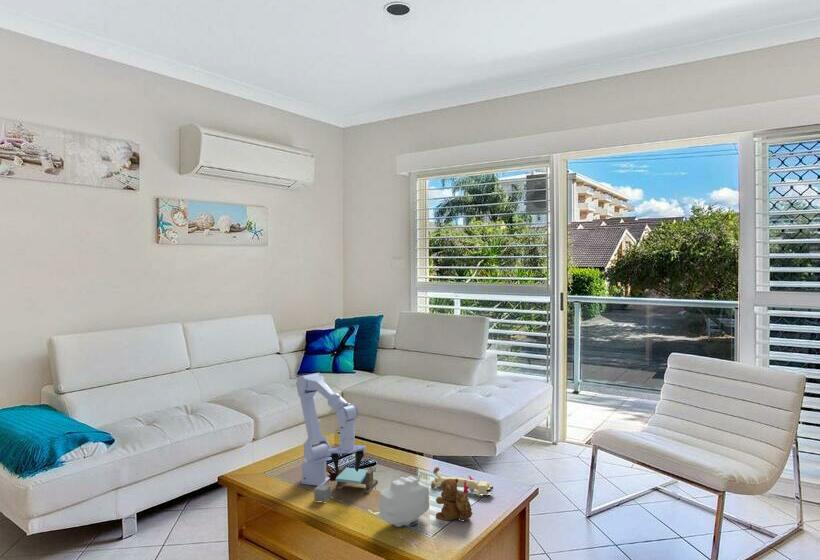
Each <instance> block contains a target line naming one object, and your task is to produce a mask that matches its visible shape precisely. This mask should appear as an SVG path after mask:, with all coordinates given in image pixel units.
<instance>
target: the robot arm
mask: <svg viewBox="0 0 820 560" xmlns="http://www.w3.org/2000/svg"><path fill="white" fill-rule="evenodd" d="M295 387H296V390H297V395H298V397H299V399H300V405H301V409H302V414H303V418H304V419H303V420H304V424H305V428H306V429H305V430H306V432H307V433H306V434H307V439H306V440H305V442H304V443H303V456H304V460H303V461H302V465H301V482H300V483H301V484H303V485H309V486H310V485H311V486H316V487H317V486H318V485H319V484H322V485H326V484H327V482H328V481H329V480H330V479H331V477H329V476H327V460H328V459H329V458H328V457H330V456H331V459H332V461H333V465H334V469H335V473H336V475H337V474H338V468H339V461H340V460H339V455H341V454H353V453H354V455H355V457H354V459H355V464H354V468H355V470H356V471H358V469H360V464H361V462H362V460H363V458H364V457H365V456H364V453H366V452H367V446H366V445H364V444H363V445H357V444H355V436H356V433H355V431H356V425H355V424H356V419H357V418H358V416H359V410H358V407H357V406H356V404H355V403H349V402H347V400H346V399H344V397H342V396H341V394H340V393H335V392H333V390H332V389H331V388H330V387H329V386H328V384H327V383H326V382H325V377H324V376H323V375H322V373H320V372H316V373H315V372H314V373H309V374H305V375H299V376H298V377H297V380H296V382H295ZM316 393H319V394H320V395H321V396H322V397H324V398H325V399H326V400H327V405H328V406H329V407H330V408H331V409H332V410H333V411H334V412H335V413H336V417H337V420H338V421H337V422H338V426H339V446H337V447H331V446H330V443H329V441H328V438H327V437H326V436H324V435H322V433H321V428H320V424H319V418H318V414H317V409H316V405H315V399H314V396H315V394H316Z"/></svg>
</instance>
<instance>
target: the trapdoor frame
mask: <svg viewBox="0 0 820 560" xmlns="http://www.w3.org/2000/svg"><path fill="white" fill-rule="evenodd" d="M345 468H346V467H345V465H340V466H338V474H336V477H337V476H338V475H339V474H340V473H341V472H342V471H343V470H344V469H345ZM367 470H368V471H367V472H366V484H365V488H364V494H370V493H371V491H372V490H373V489H374V488H375V487H376V485H377V484H378V479H375V478H374V469H372V468H369V469H367ZM347 483H348V482H340V481H336V484H335V490H341V489H342V488H343V487H344V486H345V485H346V484H347Z"/></svg>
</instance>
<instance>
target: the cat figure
mask: <svg viewBox="0 0 820 560" xmlns="http://www.w3.org/2000/svg"><path fill="white" fill-rule="evenodd" d="M439 471H440V467H438V466H436V467H434V469H433V471H432V473H433V474H434V479H432V480H431V484H430V487H431V488H434V487H435V486H436V487H438V488H440V486H441V483H442V482H443V481H444V480H446V479H454V480H455V479H458V483H457V488H463V493H465V494H468V493H469V490H472V491H473V492H474V493H476V495H477V496H478V495H480V494H483V495H487V494H488V492H493V493H491V494H493V495H494V493H495V490H493V489H494V486H493V485H492V484H490V482H489V481H486V480H478V481H477V480H475V479H474V478H472V476H470V475H468V478H469V479H468V478H464V477H453V476H448V477H447V476H441V474H440V473H438V472H439ZM487 496H488V495H487Z"/></svg>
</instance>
